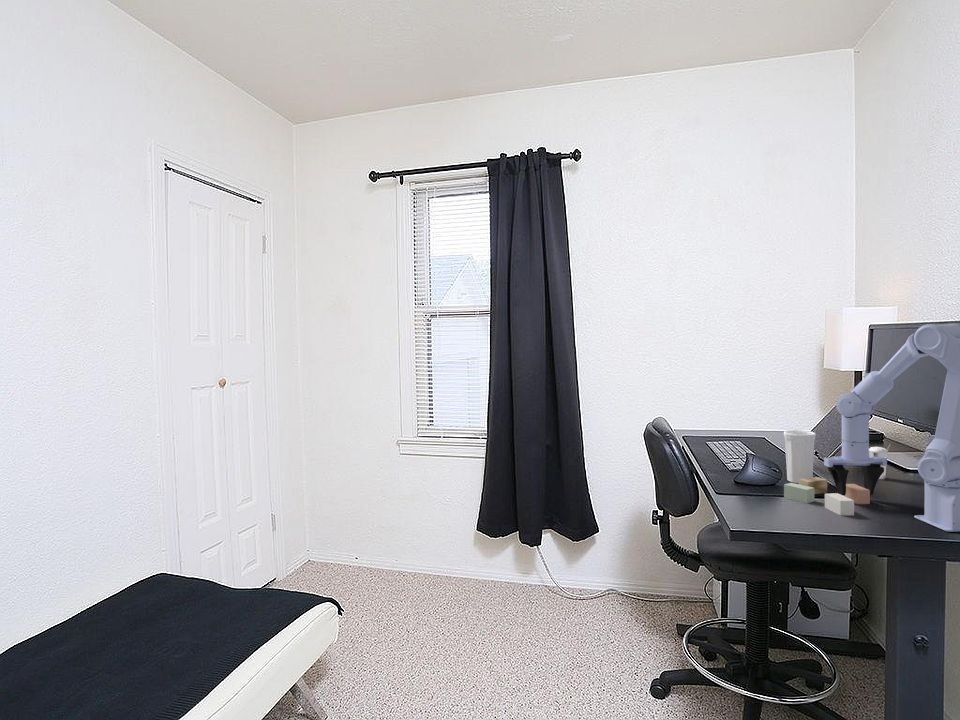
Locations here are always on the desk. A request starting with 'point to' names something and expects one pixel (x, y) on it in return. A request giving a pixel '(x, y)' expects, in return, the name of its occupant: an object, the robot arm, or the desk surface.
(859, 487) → the terracotta brick
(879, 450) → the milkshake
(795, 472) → the cup
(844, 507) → the cream brick
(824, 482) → the oak brick
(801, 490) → the sage brick
